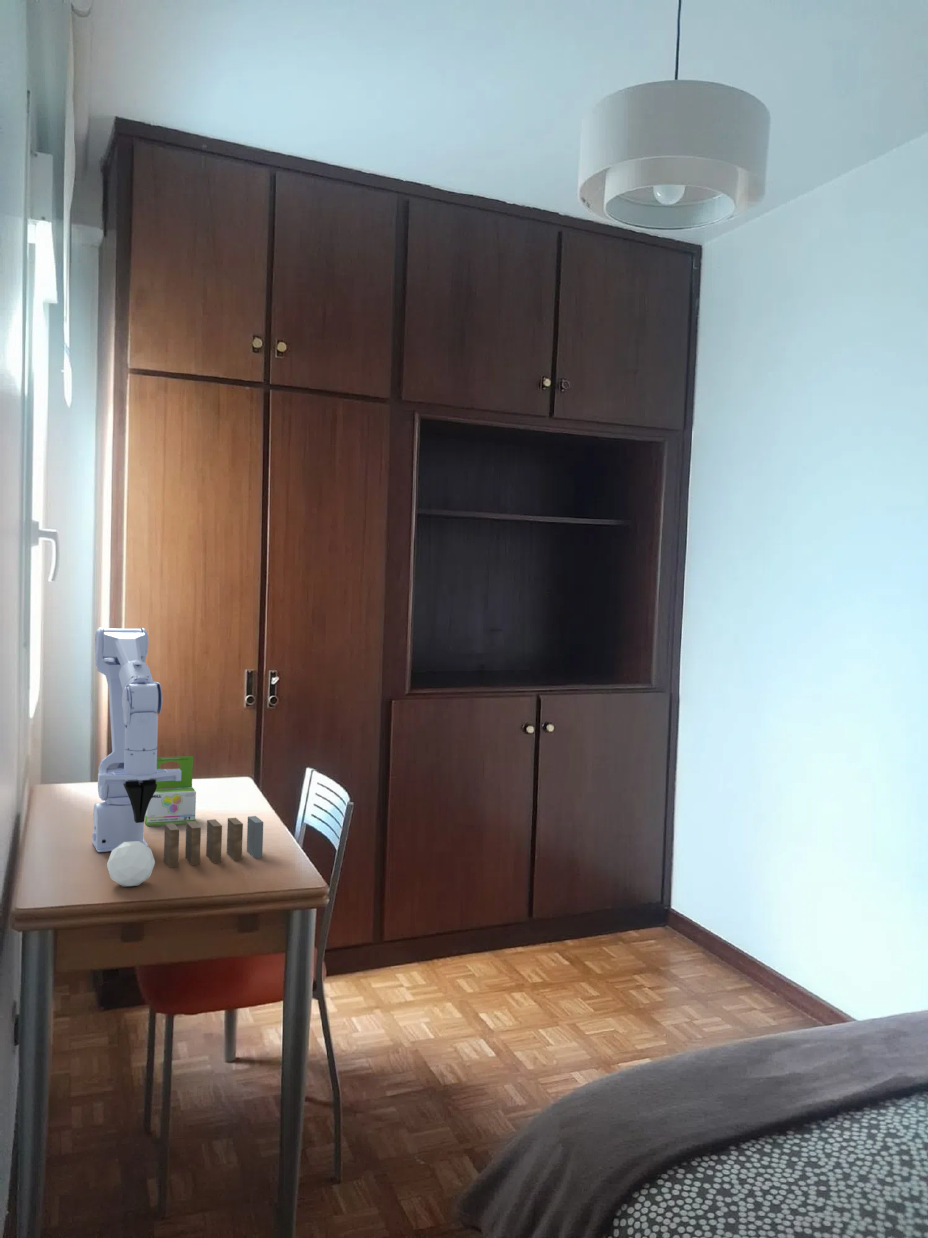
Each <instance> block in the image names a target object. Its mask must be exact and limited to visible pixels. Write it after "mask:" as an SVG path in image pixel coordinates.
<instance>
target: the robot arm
mask: <svg viewBox="0 0 928 1238" xmlns="http://www.w3.org/2000/svg"><path fill="white" fill-rule="evenodd" d="M94 636H95V637H94V653H95V658H94V659H95V666H96V670H97V671H96V672H98V673H101V674H102V675H104V676H105V678H106V683H107V687H108V700H109V702H108V703H109V716H110V717H109V718H110V719H109V720H110V735H111V737H110V738H111V753H109V754H108V755H107V756H105V757H104V758H102V759H101V761H100V763H99V765H98V773H97V792H98V797H99V799H100V800H101V801H103V802H97V803H94V804H93V813H92V814H93V815H92V816H93V817H92V841H91V842H92V845H93V847H94V848H95V851H97V852H98V853H105V852H112V850H114V849H115V848H116V847H118V846H119V845H121V844H122V843H123V842H130V841H140V842H141V843H143V844H144V845H146V846H147V847H149V844H148V843H147V841H146V840H145V838H144V830H145V829H144V825H145V821H144V818H145V814H146V811H147V808H148V805H149V802H150V800H151V798H152V796H153V794H154V793H155V791H156V788H157V784H156V782H158V781H173V780H175V781H181V770H180V769H178V768H161V769H157V757H158V733H159V732H158V731H159V729H158V728H159V727H158V726H159V715H160V714H161V713H162V708H163V699H164V698H163V691H162V689H163V688H162V685H161V683H160V682H157V681H154V679H153V676H152V672H151V669H150V667H149V665H148V664H147V663H146V659H147V655H148V652H149V632H148V631H147V630H146V629H145V628H144V627H140V628H114V627H113V628H112V627H111V628H108V627H106V628H104V627H98V629H97V630H96V631H95V634H94Z"/></svg>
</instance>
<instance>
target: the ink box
mask: <svg viewBox="0 0 928 1238" xmlns="http://www.w3.org/2000/svg"><path fill="white" fill-rule="evenodd" d="M168 762H169V763H170V762H172V763H178V764H179V765H180V767H178V768H177V769H180V770H181V781H175V780H173V781H158V782H156V784H157V788H156V791H155V793H154V794H153V796H152V798H151V800H150V802H149V805H148V808H147V811H146V814H145V818H144V824H146V826H147V827H159V826H160V827H161V826H165V824H167V823H174V824H175V825H176V826H177V825H186V822H190V821H195V822H196V808H197V807H196V803H197V801H196V800H197V798H196V797H197V791H196V790H195V788H194V787H193V774H194V773H193V771H194V755H186V756H185V755H184V756H182V755H181V756H161V757H158V756H157V769H162V768H161V765H162V764H166V763H168Z"/></svg>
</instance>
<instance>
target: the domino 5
mask: <svg viewBox="0 0 928 1238" xmlns="http://www.w3.org/2000/svg"><path fill="white" fill-rule="evenodd" d="M246 827H247V829H246V831H247V833H246V853H247V854H249V855H250V856H251V857H252V858H253V859H263V846H264V845H263V844H264V843H263V842H264V821H263V820H262V819H260V818H259V817H258V816H256V815H251V816H247V825H246Z"/></svg>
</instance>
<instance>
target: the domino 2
mask: <svg viewBox="0 0 928 1238" xmlns="http://www.w3.org/2000/svg"><path fill="white" fill-rule="evenodd" d="M201 834H202V827H201V826H200V825H199V824H198V822H196V820H195V821H190V822H186V824H185V852H184V853H185V854H184V857H185V859H186V860H187V862H188V863H189V864H190V865H191V866H195V865H196V866H197V865H200V864H201Z"/></svg>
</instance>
